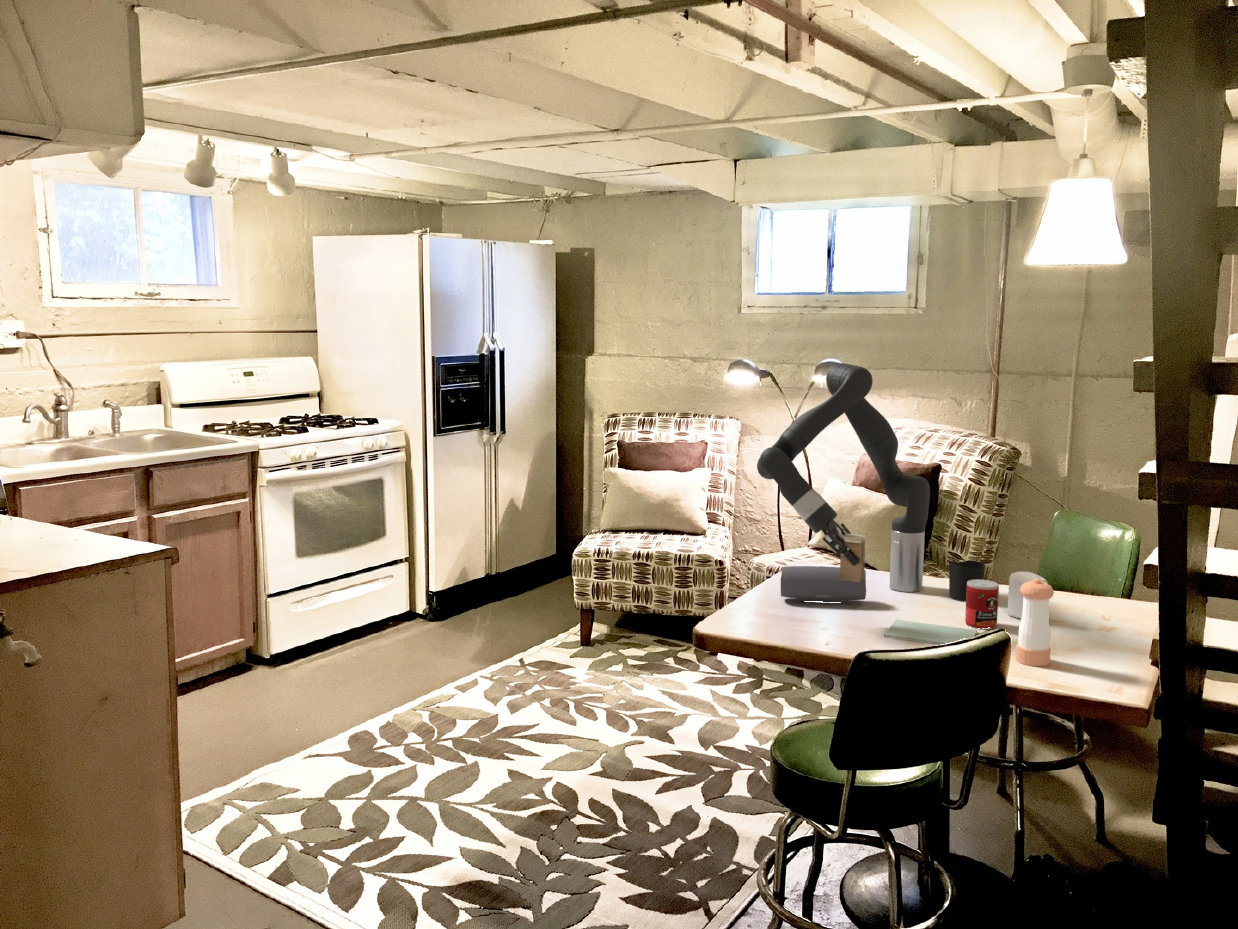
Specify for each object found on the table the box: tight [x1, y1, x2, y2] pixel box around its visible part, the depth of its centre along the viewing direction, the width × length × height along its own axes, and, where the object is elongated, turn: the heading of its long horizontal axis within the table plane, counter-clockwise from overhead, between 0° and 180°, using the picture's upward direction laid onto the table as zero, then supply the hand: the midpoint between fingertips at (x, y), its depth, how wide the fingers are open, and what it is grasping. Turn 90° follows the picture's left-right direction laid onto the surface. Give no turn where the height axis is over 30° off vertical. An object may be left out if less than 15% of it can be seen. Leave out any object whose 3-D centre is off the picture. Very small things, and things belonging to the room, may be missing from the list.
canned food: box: [964, 579, 1000, 630], centre depth 252 cm, size 8×8×11 cm
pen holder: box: [948, 559, 986, 602], centre depth 277 cm, size 9×9×10 cm
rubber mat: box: [883, 619, 978, 645], centre depth 244 cm, size 14×20×1 cm
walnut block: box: [839, 533, 866, 582], centre depth 251 cm, size 5×5×11 cm
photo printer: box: [1007, 571, 1049, 620], centre depth 257 cm, size 10×4×12 cm, turn 29°
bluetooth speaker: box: [780, 565, 867, 603], centre depth 273 cm, size 23×9×10 cm, turn 82°
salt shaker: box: [1015, 579, 1055, 667], centre depth 224 cm, size 7×7×19 cm
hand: (859, 560), depth 250 cm, fingers closed on walnut block, 5 cm apart
